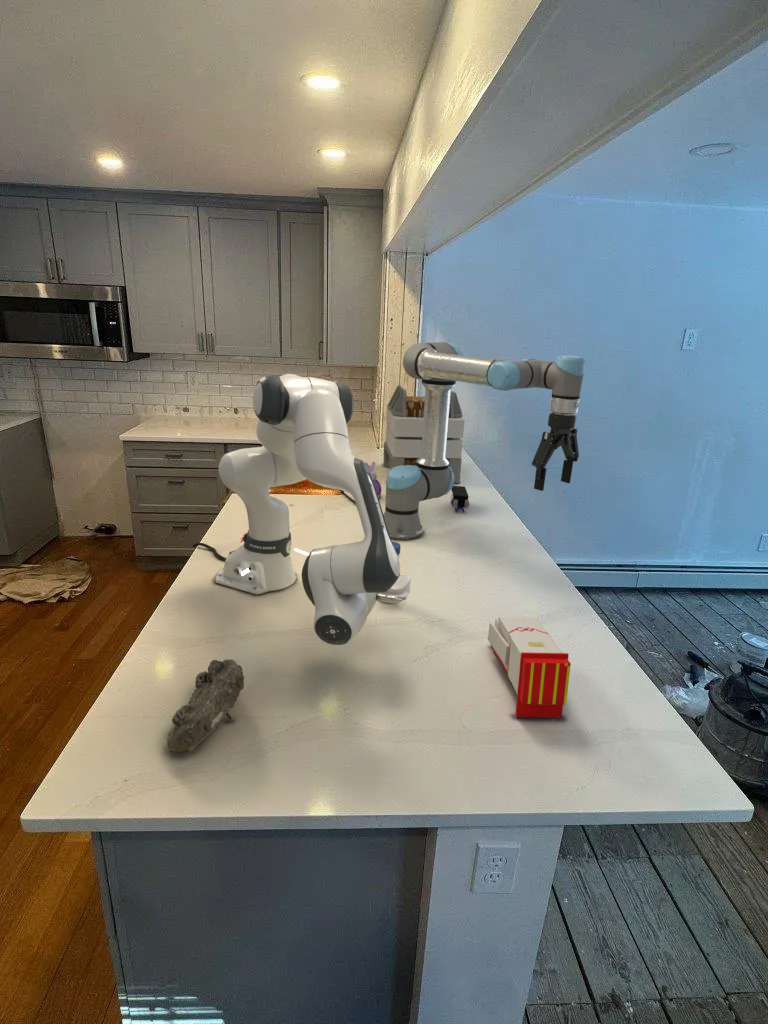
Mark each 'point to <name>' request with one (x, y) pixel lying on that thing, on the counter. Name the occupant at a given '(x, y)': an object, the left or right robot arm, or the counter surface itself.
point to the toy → (531, 665)
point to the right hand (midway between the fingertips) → (552, 485)
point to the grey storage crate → (419, 431)
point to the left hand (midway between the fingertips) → (371, 569)
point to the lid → (396, 547)
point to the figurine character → (459, 498)
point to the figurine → (374, 478)
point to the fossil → (206, 705)
